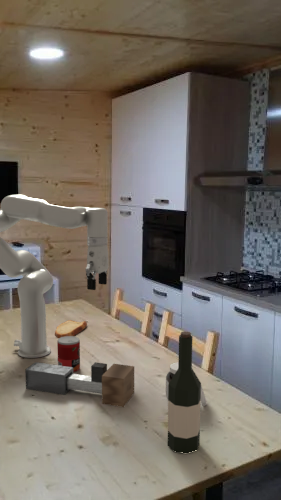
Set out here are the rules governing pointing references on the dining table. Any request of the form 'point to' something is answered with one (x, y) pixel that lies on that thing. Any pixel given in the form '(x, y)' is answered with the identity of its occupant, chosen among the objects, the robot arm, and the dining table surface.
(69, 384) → the steel bar
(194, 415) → the wine bottle
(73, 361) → the canned food
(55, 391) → the sleeve
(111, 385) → the socket block
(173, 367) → the white mug
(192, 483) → the dining table surface
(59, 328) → the slice of bread
